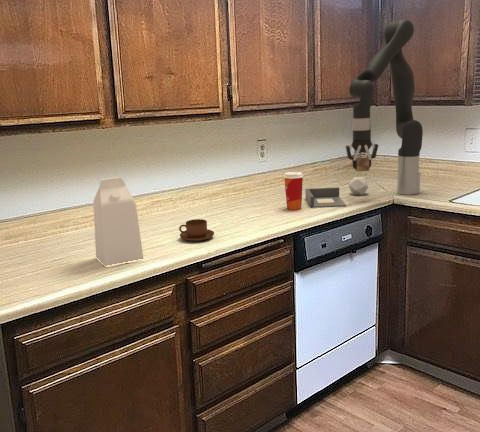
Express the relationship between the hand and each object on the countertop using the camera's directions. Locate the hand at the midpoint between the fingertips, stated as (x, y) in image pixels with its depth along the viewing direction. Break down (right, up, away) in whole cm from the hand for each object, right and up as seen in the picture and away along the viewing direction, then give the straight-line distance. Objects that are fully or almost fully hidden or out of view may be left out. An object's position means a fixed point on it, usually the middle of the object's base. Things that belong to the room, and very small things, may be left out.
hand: (361, 168), depth 233 cm
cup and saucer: (-67, -29, -42) cm, 84 cm away
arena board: (-15, -14, +4) cm, 21 cm away
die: (+2, -11, +17) cm, 20 cm away
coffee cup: (-30, -17, -5) cm, 35 cm away
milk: (-90, -34, -62) cm, 115 cm away
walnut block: (0, -1, 0) cm, 1 cm away
